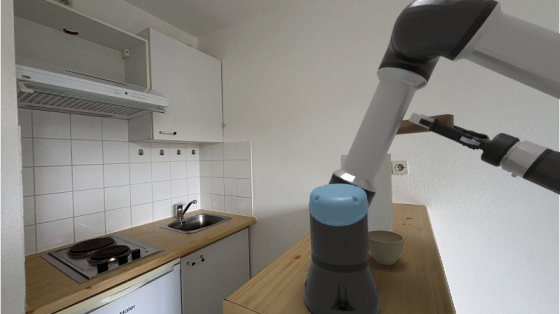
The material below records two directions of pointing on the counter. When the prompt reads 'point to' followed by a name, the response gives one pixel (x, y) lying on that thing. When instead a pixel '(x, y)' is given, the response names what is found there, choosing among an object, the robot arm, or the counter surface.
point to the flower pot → (385, 246)
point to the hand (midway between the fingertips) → (415, 117)
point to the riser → (381, 198)
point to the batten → (411, 127)
